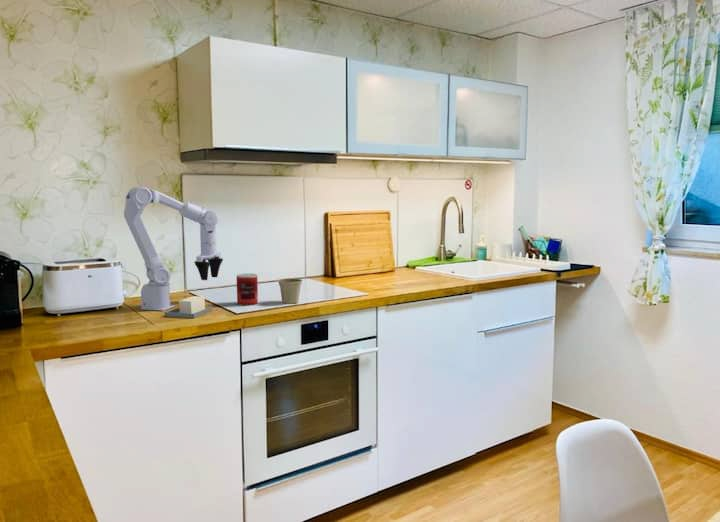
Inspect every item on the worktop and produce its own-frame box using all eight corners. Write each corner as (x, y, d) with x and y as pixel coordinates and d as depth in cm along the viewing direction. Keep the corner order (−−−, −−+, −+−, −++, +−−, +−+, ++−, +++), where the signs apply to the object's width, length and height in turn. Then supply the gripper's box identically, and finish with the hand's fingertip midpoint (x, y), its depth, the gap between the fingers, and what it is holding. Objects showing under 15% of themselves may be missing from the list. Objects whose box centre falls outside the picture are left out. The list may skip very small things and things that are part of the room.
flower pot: (299, 299, 219) (298, 277, 218) (305, 303, 211) (305, 281, 210) (275, 301, 216) (275, 279, 215) (281, 305, 207) (280, 282, 206)
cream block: (193, 308, 200) (179, 313, 192) (193, 296, 200) (179, 300, 191) (204, 309, 199) (191, 314, 191) (204, 296, 199) (191, 301, 190)
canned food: (248, 300, 217) (248, 272, 215) (262, 303, 211) (261, 274, 210) (232, 303, 211) (232, 275, 209) (246, 306, 206) (245, 277, 204)
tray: (164, 316, 189) (164, 312, 188) (184, 309, 201) (184, 305, 200) (193, 318, 186) (193, 313, 186) (212, 310, 198) (211, 306, 198)
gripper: (208, 244, 201) (209, 281, 203) (227, 241, 215) (228, 276, 217) (190, 244, 203) (191, 281, 205) (210, 241, 217) (211, 275, 219)
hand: (209, 278), depth 211 cm, fingers open, 7 cm apart
